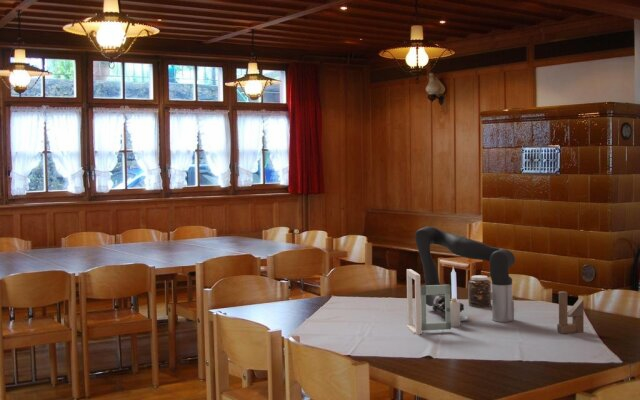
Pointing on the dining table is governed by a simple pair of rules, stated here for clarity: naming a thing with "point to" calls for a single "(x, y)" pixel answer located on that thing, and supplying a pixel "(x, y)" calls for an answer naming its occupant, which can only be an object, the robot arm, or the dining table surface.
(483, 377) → the dining table surface
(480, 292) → the jar
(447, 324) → the grey-green rectangular frame
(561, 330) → the wooden braced frame
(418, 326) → the door frame
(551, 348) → the dining table surface
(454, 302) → the white candle
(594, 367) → the dining table surface
